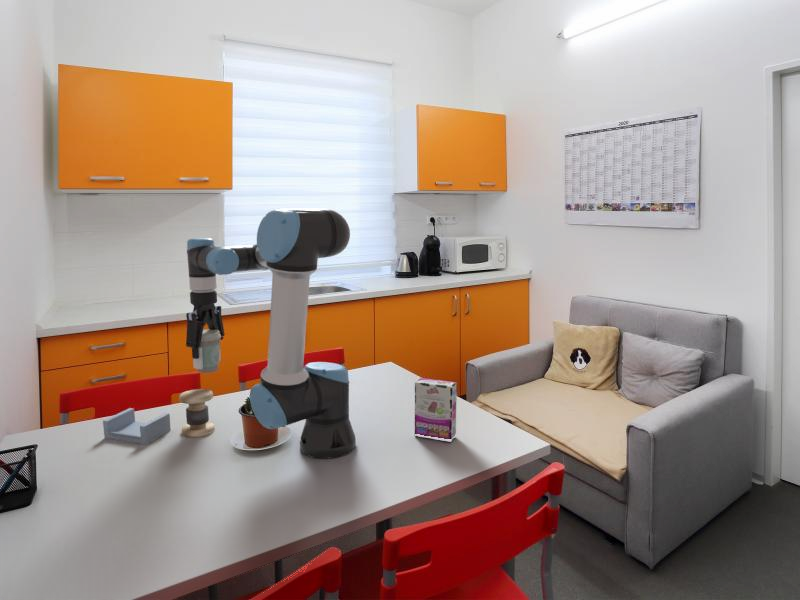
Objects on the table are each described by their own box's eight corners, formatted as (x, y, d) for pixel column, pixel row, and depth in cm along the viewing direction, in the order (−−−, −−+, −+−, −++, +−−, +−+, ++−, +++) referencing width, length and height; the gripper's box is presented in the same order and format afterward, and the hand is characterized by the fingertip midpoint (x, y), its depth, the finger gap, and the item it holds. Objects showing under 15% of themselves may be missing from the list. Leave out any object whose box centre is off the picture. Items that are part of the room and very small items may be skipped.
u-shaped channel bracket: (131, 424, 162) (129, 408, 161) (170, 430, 158) (169, 413, 158) (104, 438, 153) (102, 420, 152) (145, 444, 149) (144, 426, 148)
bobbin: (221, 427, 161) (219, 390, 159) (201, 439, 153) (199, 401, 151) (195, 423, 164) (192, 387, 162) (174, 435, 155) (172, 397, 153)
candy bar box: (456, 436, 156) (457, 381, 153) (451, 443, 151) (452, 387, 148) (419, 430, 160) (420, 376, 157) (413, 437, 155) (414, 382, 152)
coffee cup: (213, 375, 161) (211, 336, 159) (187, 373, 162) (184, 334, 160) (228, 366, 169) (226, 329, 167) (203, 365, 171) (200, 328, 169)
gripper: (213, 285, 172) (217, 354, 176) (168, 295, 152) (173, 373, 156) (234, 286, 170) (237, 356, 174) (191, 296, 150) (196, 375, 154)
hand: (207, 364), depth 165 cm, fingers closed on coffee cup, 8 cm apart
